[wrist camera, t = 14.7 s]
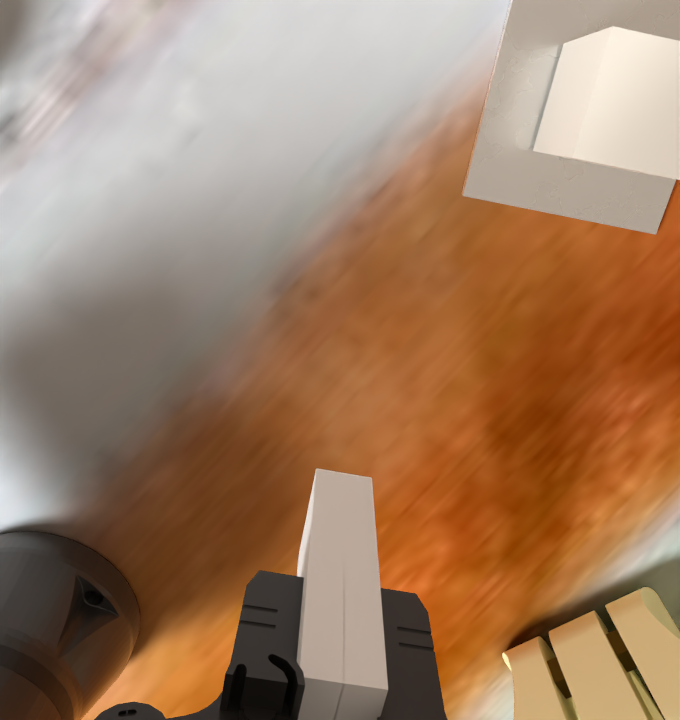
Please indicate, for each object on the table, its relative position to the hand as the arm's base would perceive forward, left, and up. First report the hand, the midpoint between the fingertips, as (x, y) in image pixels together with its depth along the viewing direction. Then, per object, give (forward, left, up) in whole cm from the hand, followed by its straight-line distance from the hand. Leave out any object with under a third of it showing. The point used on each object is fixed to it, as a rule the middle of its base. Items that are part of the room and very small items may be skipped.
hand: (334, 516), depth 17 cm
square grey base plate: (+12, +13, -24) cm, 30 cm away
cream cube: (+12, +13, -23) cm, 29 cm away
